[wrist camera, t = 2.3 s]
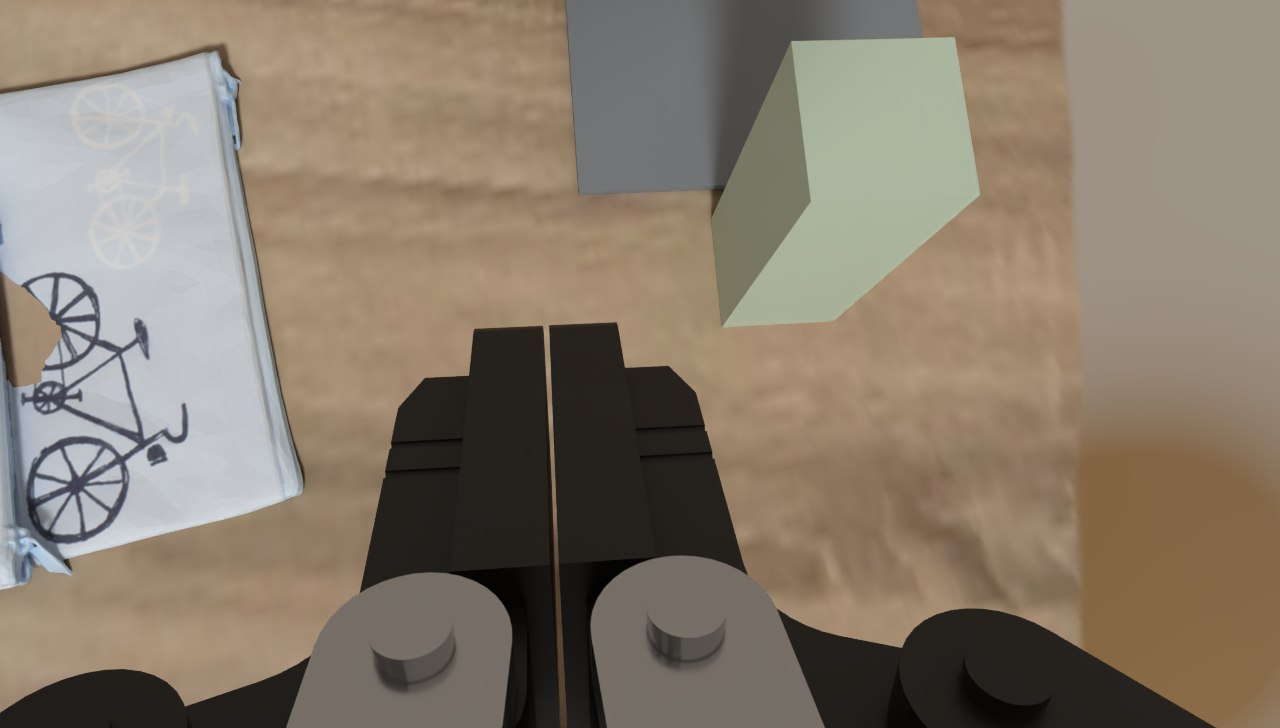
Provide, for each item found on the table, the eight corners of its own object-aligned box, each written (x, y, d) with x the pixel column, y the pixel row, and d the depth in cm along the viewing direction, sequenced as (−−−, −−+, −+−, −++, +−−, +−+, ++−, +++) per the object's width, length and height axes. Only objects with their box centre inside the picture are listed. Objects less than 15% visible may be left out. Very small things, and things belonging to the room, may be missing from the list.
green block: (711, 219, 37) (791, 41, 24) (819, 214, 37) (954, 37, 25) (721, 327, 36) (810, 201, 23) (833, 321, 36) (980, 194, 24)
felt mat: (557, -112, 39) (557, -119, 39) (894, -114, 41) (897, -120, 40) (578, 194, 37) (578, 190, 36) (939, 180, 38) (943, 176, 38)
